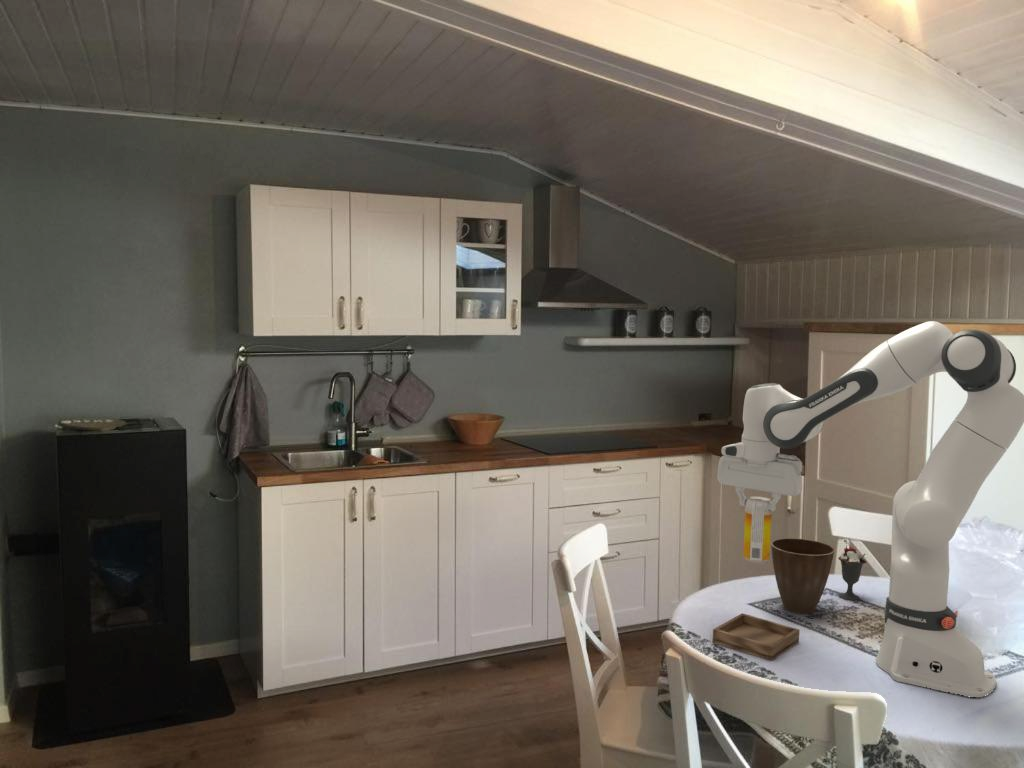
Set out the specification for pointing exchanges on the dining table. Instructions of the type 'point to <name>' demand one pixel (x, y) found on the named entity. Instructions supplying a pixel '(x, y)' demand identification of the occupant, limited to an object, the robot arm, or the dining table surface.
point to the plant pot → (801, 572)
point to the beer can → (757, 530)
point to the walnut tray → (756, 636)
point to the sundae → (851, 570)
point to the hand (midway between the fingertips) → (757, 508)
